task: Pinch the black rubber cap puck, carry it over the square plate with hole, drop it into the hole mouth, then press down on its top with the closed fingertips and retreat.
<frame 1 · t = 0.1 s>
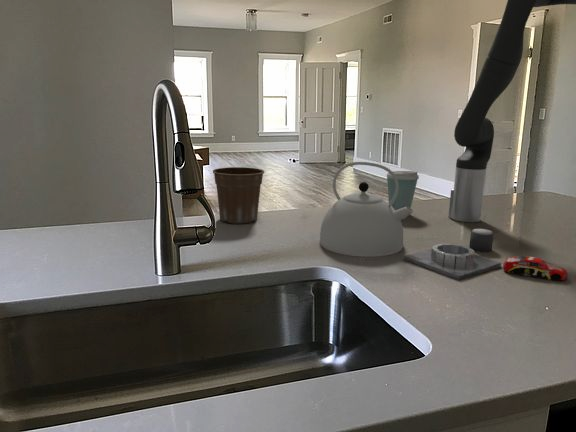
plant pot: (239, 220, 153), on the worktop
disposable coffee cup: (399, 214, 163), on the worktop
kettle: (364, 244, 129), on the worktop
cap: (480, 249, 126), on the worktop
square plate with hole: (451, 263, 115), on the worktop
race car: (533, 276, 108), on the worktop
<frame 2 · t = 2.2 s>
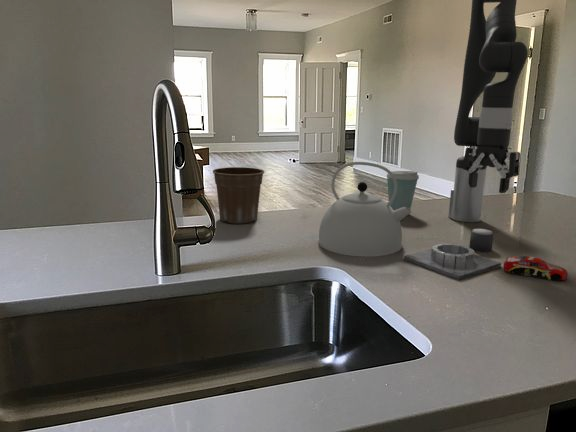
hand: (487, 189, 122), 16 cm above the worktop, fingers open, 8 cm apart
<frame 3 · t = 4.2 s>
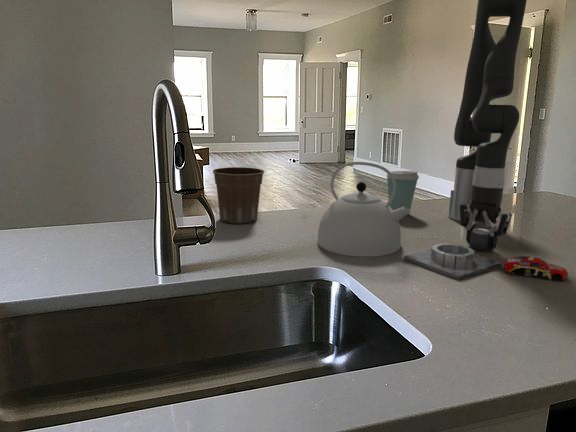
hand: (480, 246, 126), 1 cm above the worktop, fingers closed on cap, 5 cm apart
cap: (480, 249, 126), on the worktop, touching gripper
everything else where it was.
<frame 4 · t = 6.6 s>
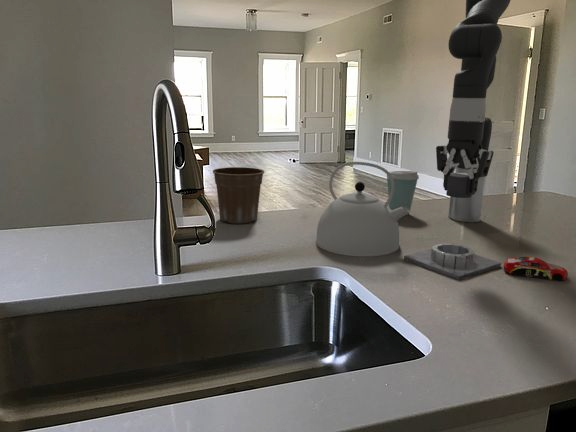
hand: (459, 192, 110), 18 cm above the worktop, fingers closed on cap, 5 cm apart
cap: (458, 195, 110), point 17 cm above the worktop, touching gripper
when the fingers open (5 cm above the worktop, at t = 9.5 s): cap drops 3 cm, resting on square plate with hole.
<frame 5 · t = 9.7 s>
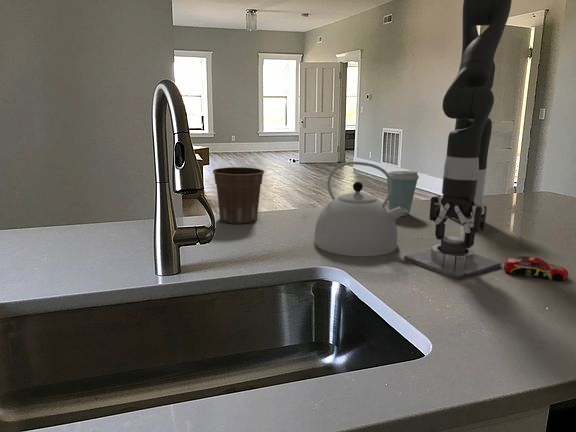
hand: (453, 243, 113), 5 cm above the worktop, fingers open, 7 cm apart
cap: (451, 259, 115), point 1 cm above the worktop, touching square plate with hole
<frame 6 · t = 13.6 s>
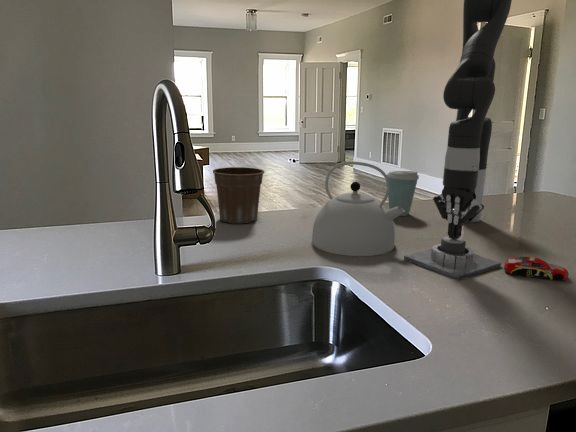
hand: (454, 238, 113), 6 cm above the worktop, fingers closed
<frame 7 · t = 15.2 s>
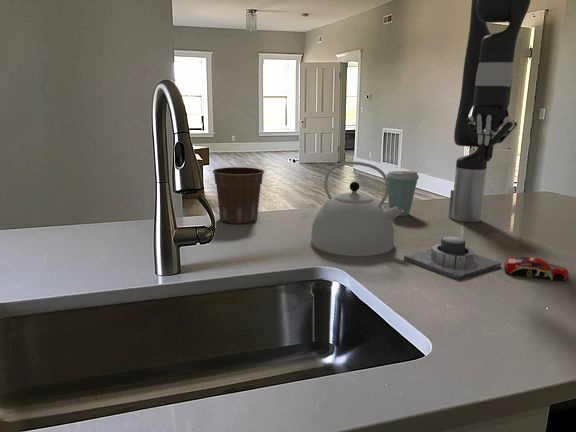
hand: (484, 161, 110), 25 cm above the worktop, fingers closed
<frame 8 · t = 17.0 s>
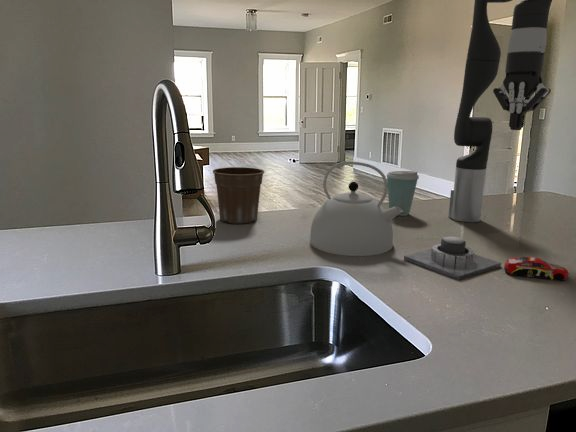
hand: (515, 129, 109), 32 cm above the worktop, fingers closed
at the end: cap 0.1 cm off-centre on the square plate with hole, point 1.0 cm above the square plate with hole's base; cap tilted 0°; the gripper is holding nothing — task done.
